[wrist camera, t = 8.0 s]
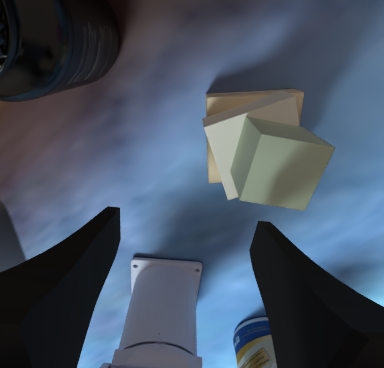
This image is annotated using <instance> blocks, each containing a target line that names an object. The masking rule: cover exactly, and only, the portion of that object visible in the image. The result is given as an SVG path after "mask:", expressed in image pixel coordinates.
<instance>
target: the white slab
mask: <svg viewBox="0 0 384 368" xmlns="http://www.w3.org/2000/svg"><path fill="white" fill-rule="evenodd" d="M246 116H247V117H252V118H257V119H263V120H268V121H273V122H278V123H283V124H289V125H294V126H299V127H300V125H299V118H298V111H297V104H296V97H295V96H294V95H292V94H289V93H287V92H284V91H279V92H277V93H274V94H271V95H268V96H265V97H262V98H260V99H257V100H254V101H251V102H248V103H245V104H243V105H240V106H237V107H234V108H231V109H228V110H226V111H223V112H220V113H217V114H214V115H211V116H209V117H206V118H203V124H204V129H205V132H206V135H207V138H208V141H209V144H210V147H211V150H212V153H213V156H214V159H215V162H216V165H217V168H218V171H219V174H220V177H221V180H222V183H223V186H224V189H225V192H226V195H227V198H228V200H230V199H234V198H237V197H238V194H237V191H236V188H235V185H234V182H233V179H232V176H231V173H230V169H231V166H232V162H233V159H234V155H235V152H236V148H237V145H238V141H239V138H240V134H241V131H242V127H243V124H244V120H245V117H246Z"/></svg>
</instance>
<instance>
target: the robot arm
mask: <svg viewBox="0 0 384 368" xmlns="http://www.w3.org/2000/svg"><path fill="white" fill-rule="evenodd" d="M120 239H121V238H120V208H118V207H106V208H105V209H104V210H103V211H101V212H100V213H99V214H98V215H97V216H95V217H94V218H93V219H92V220H90V221H89V222H88V223H87V224H85V225H84V226H83V227H81V228H80V229H79V230H77V231H76V232H75V233H73V234H72V235H70V236H69V237H67V238H66V239H65V240H63V241H61V242H60V243H58V244H57V245H55V246H53V247H52V248H50V249H48V250H46V251H45V252H43V253H41V254H39V255H37V256H35V257H33V258H31V259H29V260H27V261H25V262H23V263H21V264H19V265H17V266H15V267H12V268H10V269H8V270H5V271H3V272H0V368H77V365H78V361H79V358H80V354H81V351H82V347H83V344H84V340H85V337H86V334H87V330H88V327H89V324H90V321H91V317H92V314H93V311H94V308H95V305H96V302H97V300H98V297H99V294H100V292H101V290H102V287H103V285H104V283H105V280H106V278H107V276H108V273H109V271H110V269H111V266H112V264H113V262H114V259H115V257H116V253H117V250H118V246H119V243H120ZM250 257H251V263H252V268H253V271H254V275H255V278H256V281H257V284H258V288H259V291H260V294H261V297H262V300H263V303H264V306H265V310H266V314H267V317H268V322H269V327H270V332H271V336H272V342H273V347H274V352H275V358H276V364H277V368H384V307H383V306H381V305H379V304H377V303H375V302H374V301H372V300H370V299H368V298H366V297H365V296H363V295H361V294H360V293H358V292H356V291H355V290H353V289H352V288H350V287H348V286H347V285H345V284H344V283H342V282H341V281H339V280H338V279H336V278H335V277H333V276H332V275H331V274H329V273H328V272H326V271H325V270H324V269H322V268H321V267H320V266H318V265H317V264H316V263H315V262H313V261H312V260H311V259H310V258H309V257H307V256H306V255H305V254H304V253H303V252H302V251H301V250H299V249H298V248H297V247H296V246H295V245H294V244H293V243H292V242H291V241H290V240H289V239H288V238H287V237H285V236H284V235H283V234H282V233H281V232H280V231H279V230H278V229H277V228H276V227H275V226H274V225H273V224H272V223H270V222H265V221H258V224H257V227H256V231H255V234H254V237H253V241H252V244H251V247H250ZM197 269H198V270H197ZM201 272H202V263H200V262H193V261H179V260H165V259H152V258H138V257H134V258H132V260H131V300H130V304H129V308H128V312H127V316H126V320H125V324H124V329H123V333H122V337H121V341H120V345H119V349H116V350H115V352H114V356H113V360H112V364H111V363H103V364H102V366H101V367H100V368H202V357H198V356H197V337H196V300H197V295H198V289H199V283H200V278H201Z"/></svg>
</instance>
